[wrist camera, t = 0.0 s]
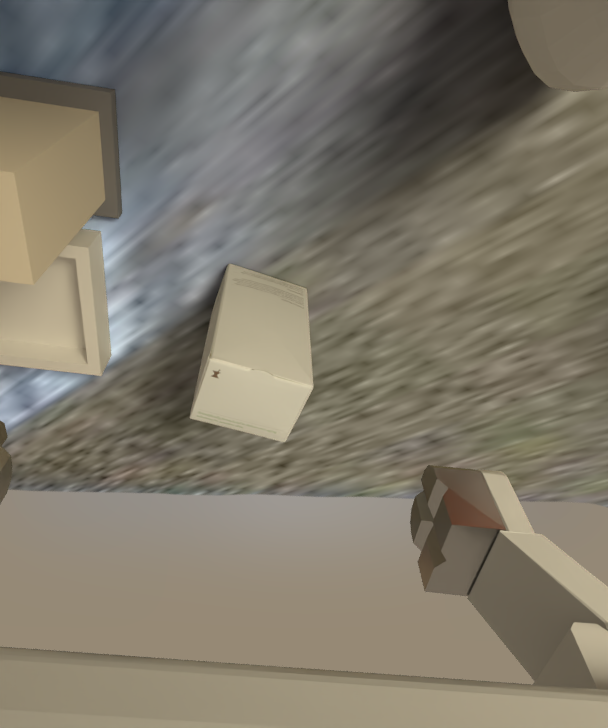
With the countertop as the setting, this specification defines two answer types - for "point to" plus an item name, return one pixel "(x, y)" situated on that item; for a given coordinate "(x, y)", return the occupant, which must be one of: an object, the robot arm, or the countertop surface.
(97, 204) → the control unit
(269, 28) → the countertop surface
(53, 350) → the parts tray
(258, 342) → the skincare box
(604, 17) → the soap bottle
